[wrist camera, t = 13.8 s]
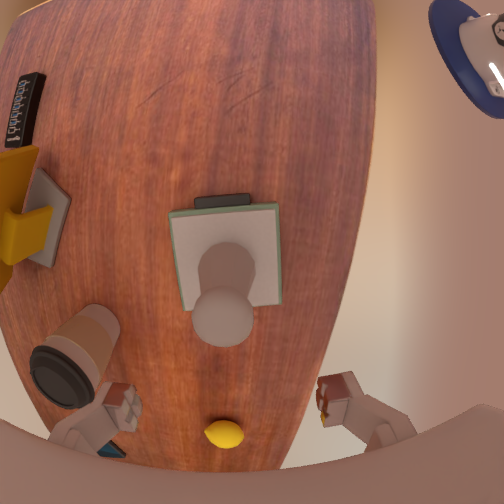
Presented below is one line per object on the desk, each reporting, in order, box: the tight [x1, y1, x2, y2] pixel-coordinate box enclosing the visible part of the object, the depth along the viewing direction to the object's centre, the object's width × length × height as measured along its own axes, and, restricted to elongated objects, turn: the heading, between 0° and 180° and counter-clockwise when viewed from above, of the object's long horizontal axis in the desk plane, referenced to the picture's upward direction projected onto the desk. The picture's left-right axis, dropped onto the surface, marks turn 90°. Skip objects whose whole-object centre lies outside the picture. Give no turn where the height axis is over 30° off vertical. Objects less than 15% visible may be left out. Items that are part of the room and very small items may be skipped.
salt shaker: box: [192, 242, 256, 347], centre depth 24 cm, size 6×6×13 cm
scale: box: [168, 193, 282, 311], centre depth 31 cm, size 12×13×3 cm
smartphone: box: [97, 441, 126, 458], centre depth 44 cm, size 8×15×1 cm, turn 108°
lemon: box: [204, 420, 244, 448], centre depth 39 cm, size 7×5×5 cm
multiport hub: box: [5, 72, 46, 148], centre depth 23 cm, size 4×11×2 cm, turn 169°
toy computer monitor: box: [0, 145, 71, 294], centre depth 22 cm, size 20×8×16 cm, turn 150°
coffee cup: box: [30, 304, 120, 409], centre depth 27 cm, size 9×9×15 cm
